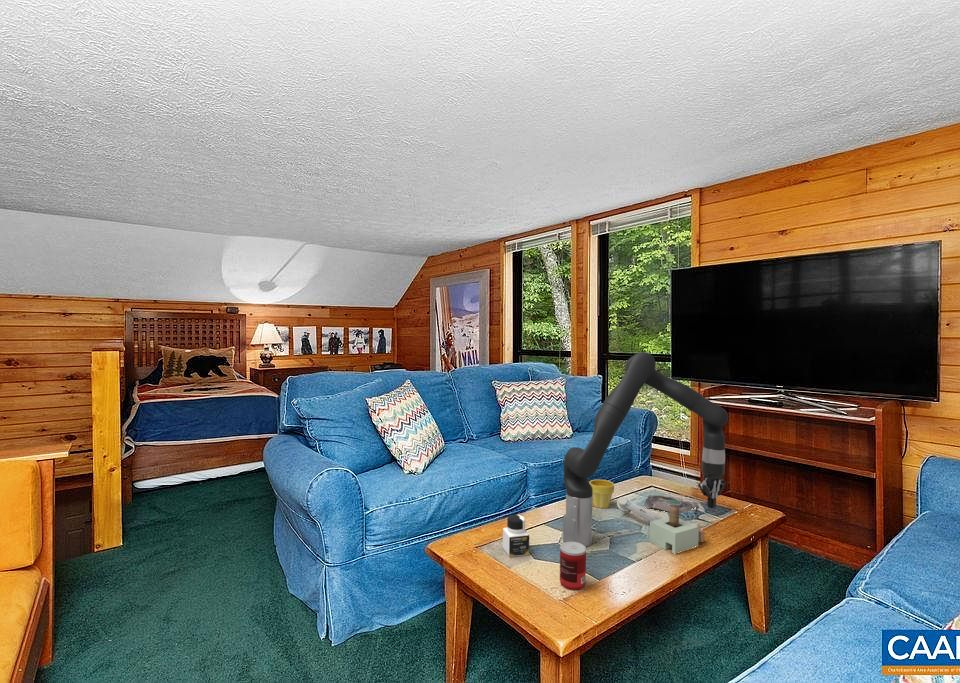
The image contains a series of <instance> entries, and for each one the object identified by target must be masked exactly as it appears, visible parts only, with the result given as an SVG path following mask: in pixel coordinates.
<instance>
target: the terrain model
mask: <svg viewBox="0 0 960 683" xmlns="http://www.w3.org/2000/svg"><path fill="white" fill-rule="evenodd" d="M697 505H699V503H698V502H696V501H695V502H694V501H688V500H682V499H676V498H674V497H672V496H670V497H669V496H664V495H648V497H647V498H646V500H645V502H644V504H643V507H644V506H645V507H646V508H647V509H646V508H645V507H644V508H645V509H646V510H650V509H654V510H653V511H656V510H659V511H658V512H661V511H665V512H664V513H666V512H669V509H670V506H677V507H679V513H682V512H686V511H689V510H691V509H692V508H693V509H694V508H695V507H696V508H697V509H698V506H697Z"/></svg>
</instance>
